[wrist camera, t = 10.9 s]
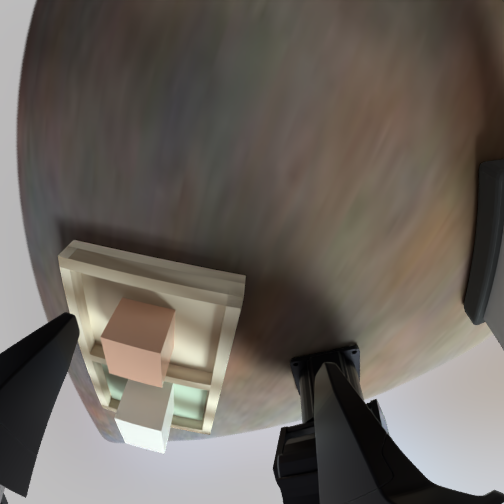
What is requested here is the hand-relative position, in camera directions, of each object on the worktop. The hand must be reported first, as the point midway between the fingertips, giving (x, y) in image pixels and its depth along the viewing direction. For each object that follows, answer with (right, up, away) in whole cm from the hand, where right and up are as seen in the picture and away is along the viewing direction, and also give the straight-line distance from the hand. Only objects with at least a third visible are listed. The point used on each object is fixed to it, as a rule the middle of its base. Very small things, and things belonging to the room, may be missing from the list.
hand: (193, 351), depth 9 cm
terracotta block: (-7, -3, +13) cm, 15 cm away
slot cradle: (-8, -7, +17) cm, 20 cm away
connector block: (-9, -12, +19) cm, 24 cm away
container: (+24, +5, +9) cm, 26 cm away
